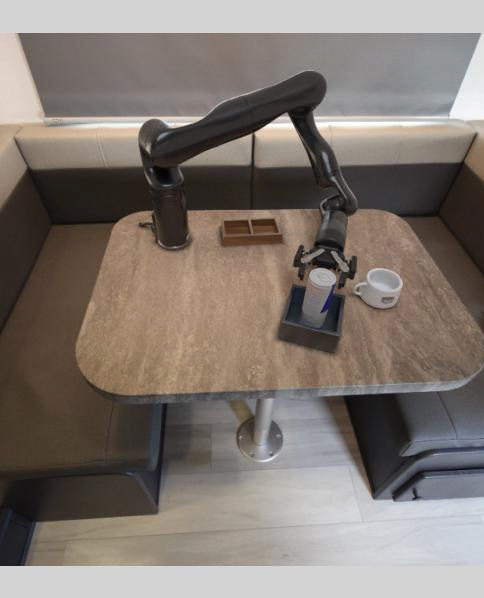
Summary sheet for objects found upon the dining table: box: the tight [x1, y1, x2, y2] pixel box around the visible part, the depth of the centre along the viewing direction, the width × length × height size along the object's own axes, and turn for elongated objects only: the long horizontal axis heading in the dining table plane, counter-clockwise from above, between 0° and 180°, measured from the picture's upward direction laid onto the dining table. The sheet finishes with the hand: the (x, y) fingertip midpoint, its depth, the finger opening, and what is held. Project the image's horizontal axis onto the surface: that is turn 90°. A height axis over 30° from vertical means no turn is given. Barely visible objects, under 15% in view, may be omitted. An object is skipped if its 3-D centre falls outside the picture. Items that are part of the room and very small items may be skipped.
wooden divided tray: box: [220, 216, 283, 246], centre depth 106 cm, size 9×17×3 cm, turn 97°
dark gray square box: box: [277, 283, 346, 354], centre depth 81 cm, size 13×13×6 cm
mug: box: [352, 267, 404, 310], centre depth 88 cm, size 12×10×6 cm
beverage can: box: [299, 267, 337, 329], centre depth 77 cm, size 6×6×15 cm
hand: (320, 282), depth 77 cm, fingers open, 8 cm apart
